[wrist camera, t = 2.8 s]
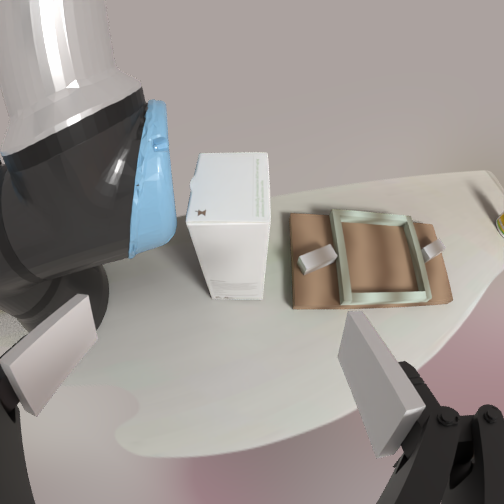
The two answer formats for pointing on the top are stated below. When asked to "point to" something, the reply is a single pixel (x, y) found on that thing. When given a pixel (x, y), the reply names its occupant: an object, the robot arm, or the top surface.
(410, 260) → the board
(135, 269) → the top surface
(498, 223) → the supplement bottle
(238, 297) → the skincare box
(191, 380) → the top surface
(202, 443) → the top surface
